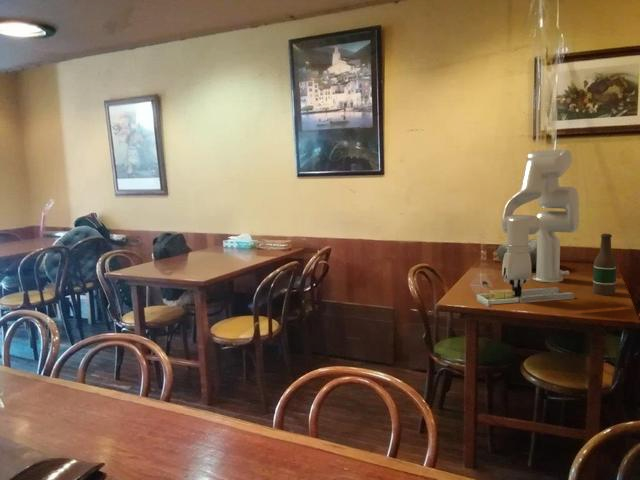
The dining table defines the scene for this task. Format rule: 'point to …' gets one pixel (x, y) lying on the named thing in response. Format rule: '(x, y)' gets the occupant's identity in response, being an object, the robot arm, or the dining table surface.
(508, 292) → the chip
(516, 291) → the robot arm
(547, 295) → the slot board
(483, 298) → the tray
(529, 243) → the gourd
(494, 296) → the chip
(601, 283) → the beer bottle
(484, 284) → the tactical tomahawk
